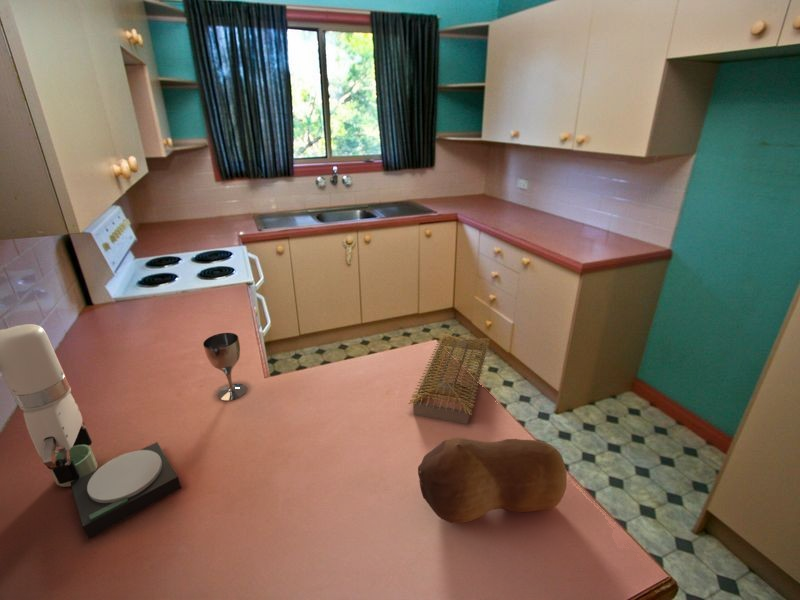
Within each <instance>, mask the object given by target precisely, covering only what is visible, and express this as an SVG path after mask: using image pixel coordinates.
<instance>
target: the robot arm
mask: <svg viewBox="0 0 800 600" xmlns="http://www.w3.org/2000/svg"><path fill="white" fill-rule="evenodd" d="M0 372H1V374H2V376H3V378H4V380H5V382H6V383H7V385H8V388H9V389H10V391H11V393H12V396H13V397H14V399H15V401H16V403H17V405H18V407H19V409H20V410H21V411H22V413H23V418H24V422H25V427H26V428H27V432H28V434H29V436H30V439H31V441H32V444H33V445H34V448H35V450H36V452H37V454H38V456H39V457H40V458H42V464H43V465H45V466H46V468H47V469H48V470H49V471H50V470H53V472H54V474H55V476H56V478H57V480H58V482H59V483H60V484H63V483H66V482H70V481H73V480H76V479H79V477H80V474H79V472H78V470H77V468H76V466H75V464H74V462H73V461H70V453H69V450H70V449H71V448H72V446H75V445H88V446H92V443H93V440H92V439H91V437H90V434H89V431H88V430H87V428H86V423H85V421H83V416H82V412H81V411H80V408H79V404H78V402H76V400H75V398H74V397H73V394H72V388H71V386H70V384H69V381H68V379H67V376H66V374H65V372H64V370H63V367H62V365H61V363H60V361H59V359H58V356H57V354H56V352H55V349H54V347H53V345H52V343H51V341H50V338H49V336H48V334H47V332H46V330H45V329H44V328H43V327H42V326H40V325H38V324H34V323H26V324H19V325H14V326H11V327H8V328H3V329H2V328H1V329H0ZM59 447H60V449H56V448H59ZM59 453H63V456H64V459H58V460H57V458H56V457H55V455H56V454H59Z"/></svg>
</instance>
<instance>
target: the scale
mask: <svg viewBox="0 0 800 600" xmlns="http://www.w3.org/2000/svg"><path fill="white" fill-rule="evenodd" d="M70 483H71V486H70V488H71V491H72V494H73V497H74V501H75V504H76V508H77V512H78V515H79V519H80V521H81V524H82V528H83V530H84V532H85V535H86V536H87V539H88V540H89V539H91V538H93V537H95V536H97V535H99V534H101V533H103V532H104V531H106V530H108V529H110V528H111V527H113V526H115V525H117V524H119V523H121V522H123V521H125V520H126V519H128V518H130V517H132V516H133V515H135V514H137V513H139V512H141V511H143V510H144V509H147V508H148V507H150V506H152V505H154V504H155V503H158V502H159V501H161V500H163V499H165V498H166V497H168V496H170V495H172V494H175V492H178V491H180V490H181V489H182V485H181V481H180V478H179V476H178V474H177V472H176V471H175V469H174V467H173V466H172V464H171V462H170V461H169V459H168V458H167V455H166V454H165V452H164V451H163V448H162V447H161V445H160V444H159V442H158V441H156V442H154V443H152V444H149V445H147V446H145V447H143V448H141V449H139V450H133V451H129V452H125V453H123V454H120V455H118V456H116V457H114V458H112V459H110V460H109V461H107V462H106V463H104V464H102V465H101V466H100V467H99V468H97V469H96V471H93V472H91V473H89V474H87V475H85V476H83V477H81V478H79V479H76V480H74V481H72V482H70Z"/></svg>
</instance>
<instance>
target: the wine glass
mask: <svg viewBox="0 0 800 600" xmlns="http://www.w3.org/2000/svg"><path fill="white" fill-rule="evenodd" d="M202 345H203V346H202V347H203V350H204V353H205V356H206V358H207V360H208V362H209V363H210V365H211V366H212V367H214V368H215V369H217V370H219V371H221V372H222V373H224V375H225V377H226V379H227V381H228V385H225V386H224V387H222V388H221V389H220V390H219V391H218V392H217V398H218V399H219V400H221V401H226V402H227V401H233V400H237V399H239V398H241V397H243V396H244V395H246V393H247V391H248V387H247V386H246V385H245V384H243V383H233V379H232V371H233V369H234V367H235V366H236V364H237V363H238V362H239V360H240V356H241V345H240V338H239V335H237V334H236V333H233V332H221V333H217V334H214V335H211V336H209V337H207V338H206V339H205V340H204V341H203V344H202Z"/></svg>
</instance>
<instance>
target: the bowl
mask: <svg viewBox="0 0 800 600" xmlns="http://www.w3.org/2000/svg"><path fill="white" fill-rule="evenodd" d="M69 453H70V461H73V462H74V464H75V466H76V468H77V470H78V472H79V474H80V477H79V478H81V477H83V476H85V475H87V474H89V473H91V472H93V471H96V470H98V465H99V464H98V462H97V460H96V457H95V454H94V452H93V450H92V447H91V445H89V446H88V445H75V446H72V448H71V449H70V450H69ZM55 457H56V458H57V460H58V459H64V456H63V453H59V454H56V455H55ZM49 471H50V473H51V475H52V477H53V479H54V481H55V484H56V485H57V486H59V487H71V483H70V482H72V481H70V482H66V483H63V484H60V483H59V482H58V480H57V478H56V476H55V474H54V472H53V470H50V469H49ZM73 481H74V480H73Z"/></svg>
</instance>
